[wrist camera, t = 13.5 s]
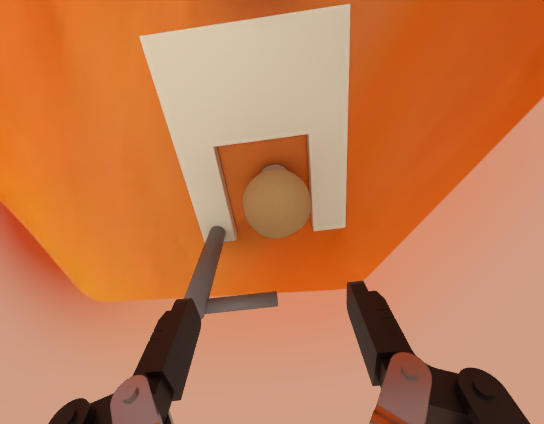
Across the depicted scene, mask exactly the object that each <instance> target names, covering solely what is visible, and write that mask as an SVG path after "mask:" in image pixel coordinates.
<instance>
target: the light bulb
mask: <svg viewBox="0 0 544 424" xmlns="http://www.w3.org/2000/svg"><path fill="white" fill-rule="evenodd" d="M242 207H243V212H244V215H245V218H246V220H247V222H248V223H249V225H250V226H251V227H252V228H253V229H254V230H255V231H256V232H257V233H259V234H260V235H262V236H264V237H267V238H272V239H274V238H283V237H287V236H289V235H291V234H293V233H295V232H297V231H299V230H300V229H301V228H302V227H303V226H304V225H305V224H306V222H307V220H308V218H309V215H310V212H311V198H310V194H309V191H308V188H307V187H306V185H305V183H304V182H303V181H302V180H301V179H300V178H299V177H298V176H297V175H295V174H293V173H291V172H289V171H287V169H286V168H284V167H283V166H281V165H276V164H273V165H269V166H267V167H265V168H264V169H263V170H262V171H261V172H260V174H259V175H257V176H256V177H254V178H253V179H252V180H251V182H250V183H249V184H248V185H247V187H246V189H245V192H244V194H243V200H242Z"/></svg>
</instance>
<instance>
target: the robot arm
mask: <svg viewBox="0 0 544 424" xmlns="http://www.w3.org/2000/svg"><path fill="white" fill-rule="evenodd" d="M347 310H348V314H349V318H350V320H351V323H352V326H353V329H354V332H355V335H356V338H357V341H358V344H359V347H360V350H361V353H362V356H363V359H364V362H365V365H366V368H367V371H368V374H369V377H370V379H371V382H372V385H373V386H379V385H380V386H381V392H380V395H379V399H378V402H377V405H376V408H375V410H374V412H373V414H372V417H371V420H370V423H369V424H530V423H529V421H528V420H527V418H526V417H525V416H524V414H523V413H522V411H521V410H520V409H519V407H518V406H517V404H516V403H515V402H514V400H513V399H512V397H511V396H510V395H509V393H508V392H507V390H506V389H505V387H504V386H503V385H502V384H501V383H500V382H499V381H498V380H497V379H496V378H495V377H493V376H492V375H490V374H489V373H487V372H485V371H483V370H480V369H477V368H465V369H463V370H461V371H460V373H459V374H457V373H453V372H449V371H445V370H441V369H437V368H434V367H431V366H429V365H427V364H426V363H424V362H423V361H422V360H421V359H420V358H418V357H417V356H416V355H415V354H414V353H413V351H412V349H411V348H410V346H409V344H408V342H407V340H406V338H405V336H404V334H403V332H402V331H401V329H400V327H399V325H398V323H397V321H396V319H395V318H394V315H393V314H392V312H391V310H390V308H389V306H388V304H387V302H386V300H385V299H384V298H383V297H382V296H381V295H380V294H379V293H378V292H377V291H368V290H367V288H366V286H365V284H364V282H363V281H356V282H348V283H347ZM200 329H201V318H200V315H199V312H198V310H197V307H196V305H195V303H194V300H193V299H192V298H185V299H177V300H176V301H175V303H174V305H173V307H172V310H171V311H166V312H165V313H164V315H163V316H162V317H161V318H160V319H159V320H158V323H157V325H156V327H155V329H154V332H153V333H152V335H151V338H150V341H149V342H148V344H147V346H146V348H145V351H144V353H143V355H142V357H141V359H140V361H139V364H138V366H137V368H136V370H135V372H134V374H133V376H132V377H130V378H129V379H127V380H126V381H124V382H123V383H122V384H121V385H120V386H119V387H118V388H117V390H116V391H115V393H113V394H111V395H109V396H107V397H104V398H102V399H100V400H97V401H95V402H93V403H89V402H88V401H87V400H86V399H83V398H79V399H75V400H73V401H71V402H69V403H67V404H66V405H65V406H63V407H62V408H61V409H60V410H59V411H58V412H57V413H56V414H55V415H54V417H53V418H52V419H51V421H50V422H49V424H174V423H173V421H172V417H171V414H170V412H169V408H170V405H171V402H172V401H177V400H181V397H182V394H183V390H184V387H185V383H186V379H187V376H188V372H189V368H190V365H191V361H192V358H193V354H194V351H195V347H196V343H197V340H198V336H199V332H200Z"/></svg>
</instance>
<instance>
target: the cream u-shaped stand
mask: <svg viewBox="0 0 544 424" xmlns="http://www.w3.org/2000/svg"><path fill="white" fill-rule="evenodd" d="M139 37H140V41H141V44H142V47H143V50H144V53H145V56H146V59H147V63H148V66H149V69H150V72H151V75H152V78H153V81H154V85H155V88H156V91H157V94H158V97H159V100H160V103H161V107H162V110H163V113H164V116H165V119H166V122H167V126H168V129H169V132H170V135H171V138H172V141H173V144H174V148H175V151H176V154H177V157H178V160H179V163H180V166H181V170H182V173H183V176H184V179H185V182H186V185H187V188H188V192H189V195H190V198H191V201H192V204H193V207H194V210H195V214H196V217H197V220H198V223H199V226H200V229H201V232H202V236H203V239H204V242H205V245H204V247H203V250H202V252H201V255H200V258H199V260H198V263H197V266H196V268H195V271H194V274H193V276H192V279H191V282H190V284H189V287H188V290H187V292H186V295H185V297H184V299H185V298H192V299H193V300H194V303H195V305H196V307H197V310H198V312H199V315H200V318H201V319H202V318H203V317H204V314H210V313H219V312H228V311H237V310H246V309H256V308H266V307H274V306H278V299H277V292H276V291H275V292H266V293H257V294H248V295H238V296H229V297H220V298H211V299H209V295H210V291H211V288H212V284H213V280H214V276H215V272H216V269H217V265H218V261H219V257H220V254H221V250H222V246H223V242H227V241H235V240H236V237H237V231H236V227H235V223H234V218H233V214H232V210H231V205H230V201H229V197H228V193H227V188H226V184H225V180H224V176H223V171H222V167H221V163H220V158H219V154H218V150H217V146H224V145H231V144H239V143H246V142H254V141H261V140H268V139H276V138H283V137H291V136H298V135H307V153H308V171H309V188H310V198H311V224H312V228H313V231H320V230H329V229H337V228H345V223H346V178H347V133H348V89H349V44H350V4H345V5H338V6H332V7H325V8H319V9H312V10H306V11H299V12H293V13H286V14H280V15H274V16H267V17H261V18H254V19H248V20H241V21H235V22H228V23H222V24H216V25H209V26H203V27H196V28H190V29H183V30H177V31H170V32H164V33H157V34H151V35H145V36H139Z"/></svg>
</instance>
